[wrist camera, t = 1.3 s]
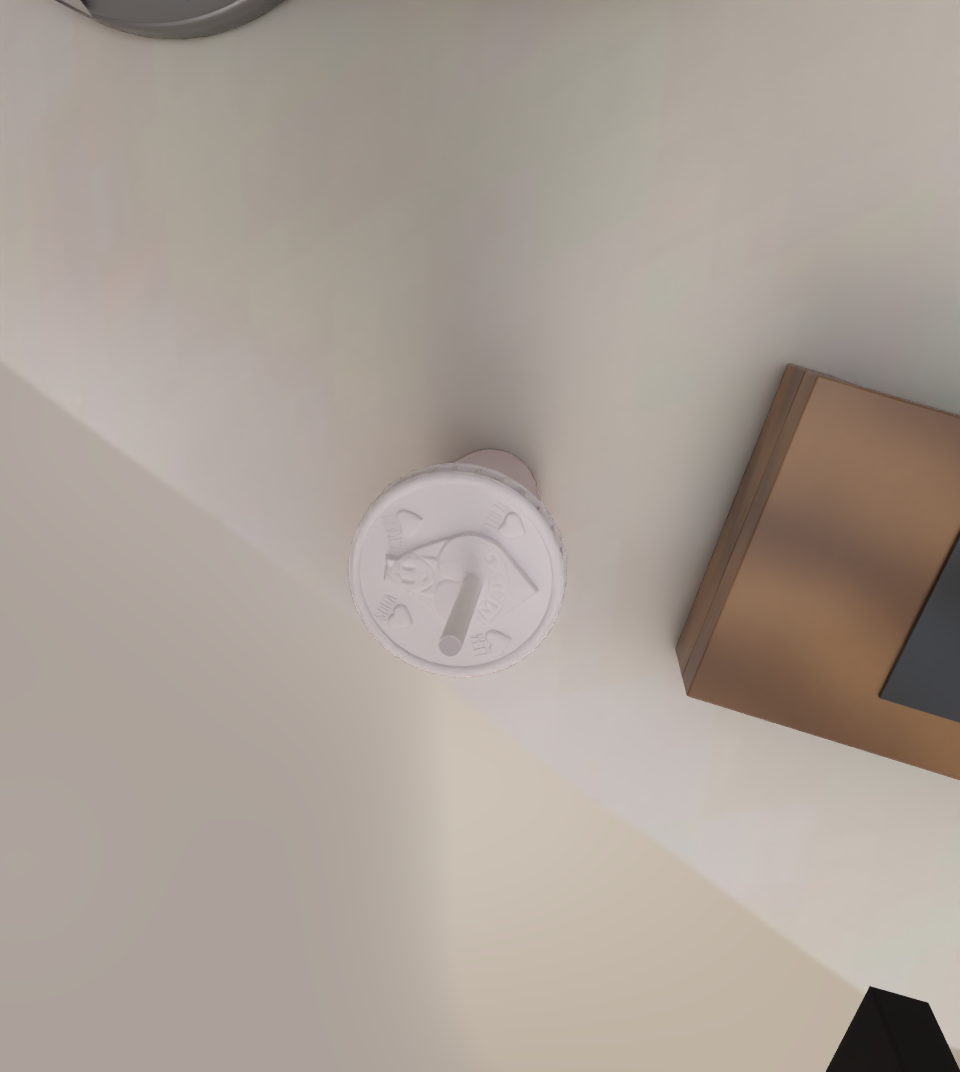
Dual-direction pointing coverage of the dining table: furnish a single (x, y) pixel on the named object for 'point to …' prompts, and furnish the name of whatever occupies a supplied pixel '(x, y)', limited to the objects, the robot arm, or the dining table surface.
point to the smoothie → (459, 566)
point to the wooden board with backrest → (840, 576)
